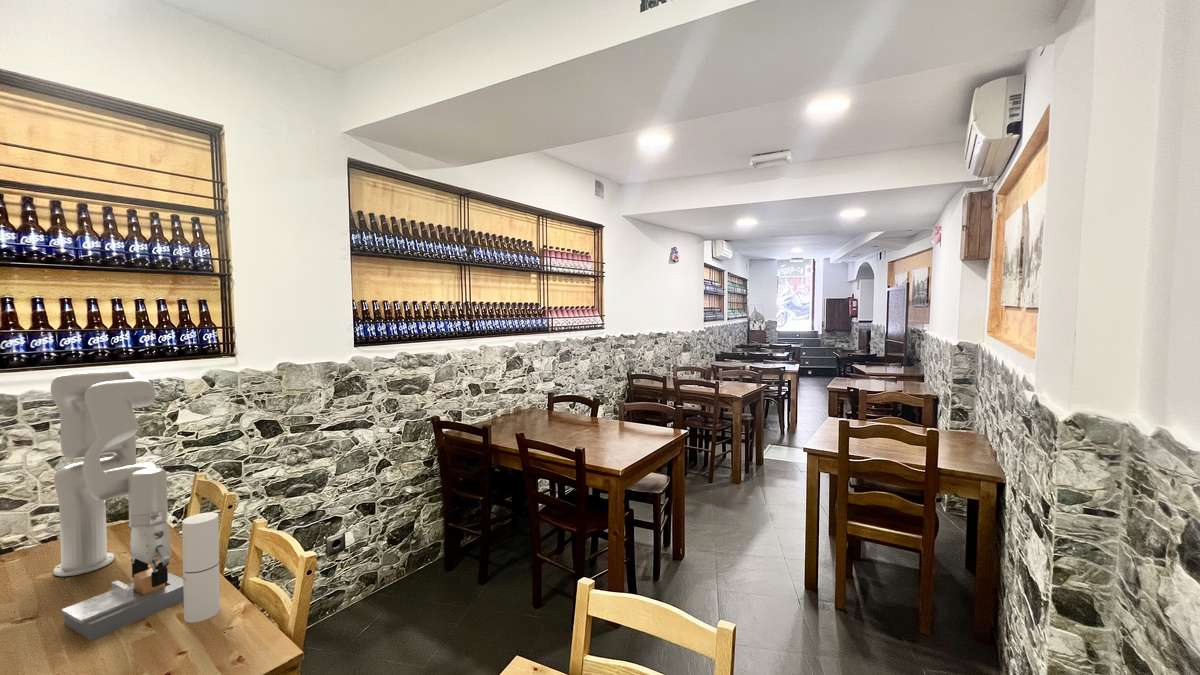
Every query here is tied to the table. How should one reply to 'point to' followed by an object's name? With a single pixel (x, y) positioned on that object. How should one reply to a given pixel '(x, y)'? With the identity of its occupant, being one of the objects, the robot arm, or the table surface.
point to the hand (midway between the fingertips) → (149, 580)
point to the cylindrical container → (201, 566)
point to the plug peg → (144, 583)
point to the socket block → (131, 610)
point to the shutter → (101, 603)
